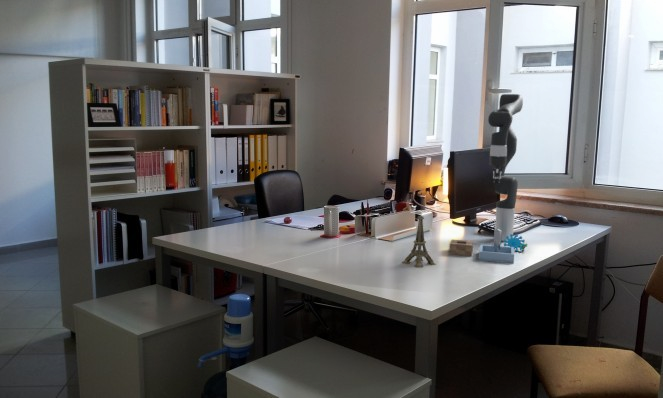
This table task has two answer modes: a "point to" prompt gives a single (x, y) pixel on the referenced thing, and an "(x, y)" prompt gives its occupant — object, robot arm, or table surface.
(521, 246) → the gear
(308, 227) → the table surface
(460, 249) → the pin block
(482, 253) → the tray
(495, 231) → the peg
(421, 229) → the eiffel tower
